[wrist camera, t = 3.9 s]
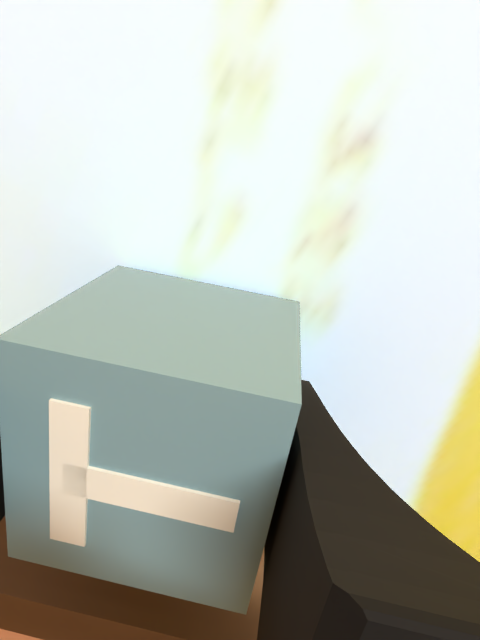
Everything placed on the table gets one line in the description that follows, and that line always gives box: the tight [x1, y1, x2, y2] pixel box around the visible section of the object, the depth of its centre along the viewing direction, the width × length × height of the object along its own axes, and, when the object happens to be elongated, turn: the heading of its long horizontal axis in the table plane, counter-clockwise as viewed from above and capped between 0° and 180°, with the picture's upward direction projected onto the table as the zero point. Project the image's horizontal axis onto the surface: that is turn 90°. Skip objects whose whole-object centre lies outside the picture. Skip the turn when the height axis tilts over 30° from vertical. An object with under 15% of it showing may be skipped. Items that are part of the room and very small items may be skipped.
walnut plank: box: [0, 516, 264, 640], centre depth 13 cm, size 2×18×4 cm, turn 81°
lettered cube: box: [0, 266, 302, 615], centre depth 10 cm, size 5×5×5 cm
